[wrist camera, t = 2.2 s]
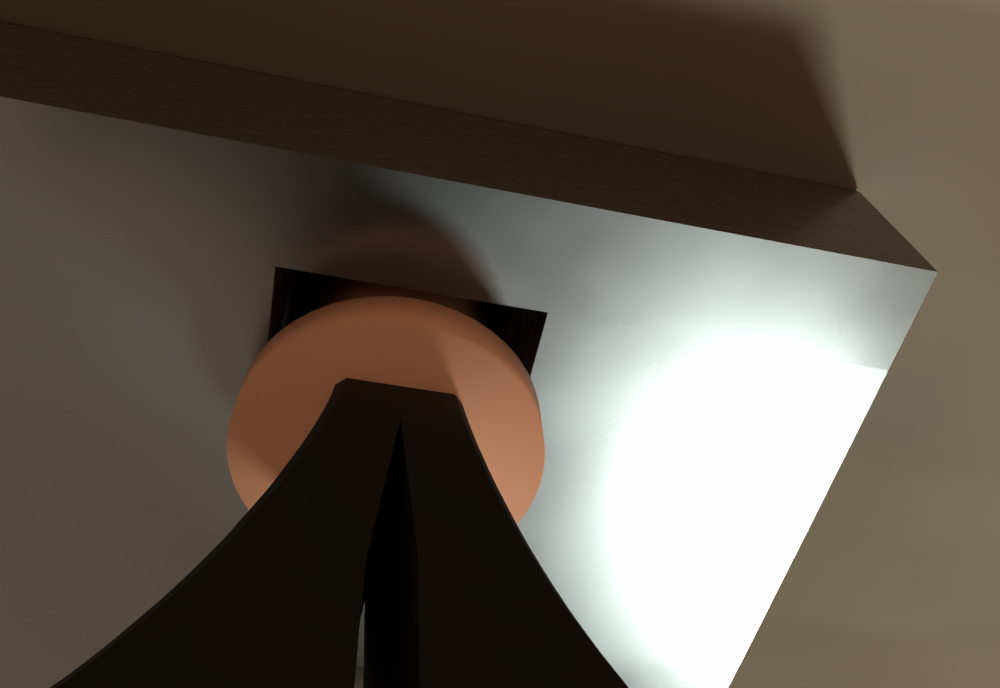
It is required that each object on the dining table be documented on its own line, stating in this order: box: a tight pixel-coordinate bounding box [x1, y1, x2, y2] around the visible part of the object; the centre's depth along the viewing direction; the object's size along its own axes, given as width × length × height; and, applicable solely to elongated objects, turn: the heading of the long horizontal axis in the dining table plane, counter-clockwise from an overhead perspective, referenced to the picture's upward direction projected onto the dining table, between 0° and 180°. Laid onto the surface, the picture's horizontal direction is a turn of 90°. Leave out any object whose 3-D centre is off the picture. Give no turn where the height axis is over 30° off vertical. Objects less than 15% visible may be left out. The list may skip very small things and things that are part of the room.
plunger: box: [227, 276, 545, 524], centre depth 12 cm, size 4×4×3 cm
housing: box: [0, 22, 937, 688], centre depth 15 cm, size 15×12×2 cm
